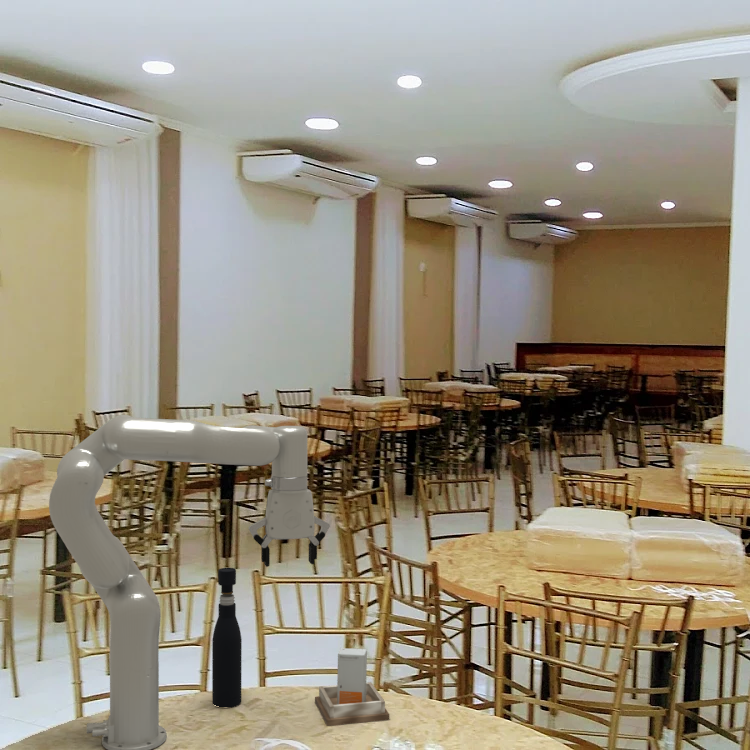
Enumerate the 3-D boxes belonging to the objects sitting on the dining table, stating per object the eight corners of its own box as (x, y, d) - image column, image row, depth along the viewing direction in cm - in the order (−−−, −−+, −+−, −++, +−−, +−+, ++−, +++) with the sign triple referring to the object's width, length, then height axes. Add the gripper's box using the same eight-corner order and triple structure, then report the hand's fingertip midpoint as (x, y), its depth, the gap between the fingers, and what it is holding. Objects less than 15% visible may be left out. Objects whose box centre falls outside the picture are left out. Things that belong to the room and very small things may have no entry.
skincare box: (336, 708, 203) (336, 653, 202) (339, 701, 207) (340, 647, 206) (364, 709, 202) (364, 654, 201) (366, 702, 206) (367, 648, 206)
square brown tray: (327, 725, 196) (327, 708, 196) (314, 702, 209) (314, 685, 209) (389, 719, 199) (389, 702, 199) (373, 696, 213) (373, 680, 212)
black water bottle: (235, 709, 205) (235, 573, 204) (207, 706, 206) (208, 572, 205) (245, 698, 211) (245, 566, 210) (218, 696, 212) (218, 565, 211)
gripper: (251, 488, 193) (250, 570, 193) (333, 485, 197) (332, 566, 197) (246, 482, 200) (246, 562, 200) (325, 480, 204) (325, 558, 205)
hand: (289, 564), depth 199 cm, fingers open, 9 cm apart
